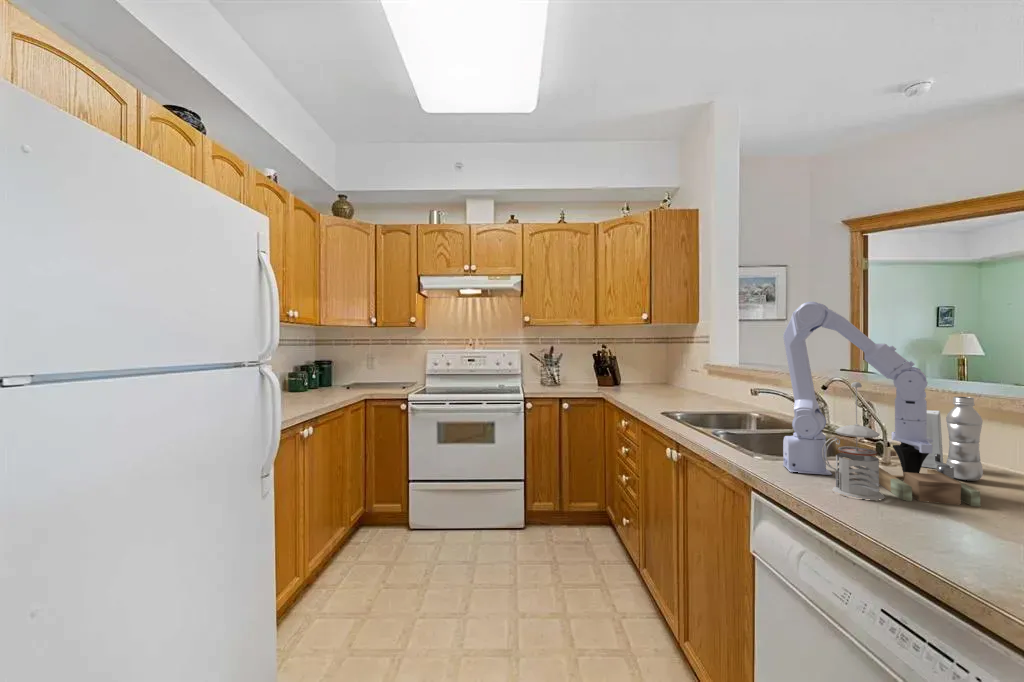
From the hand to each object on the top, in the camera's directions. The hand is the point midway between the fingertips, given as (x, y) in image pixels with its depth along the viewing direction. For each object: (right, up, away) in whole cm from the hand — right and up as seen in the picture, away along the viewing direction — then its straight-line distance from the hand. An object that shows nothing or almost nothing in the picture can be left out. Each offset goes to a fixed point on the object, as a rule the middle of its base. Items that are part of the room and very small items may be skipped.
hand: (910, 477), depth 110 cm
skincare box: (+18, -2, +17) cm, 25 cm away
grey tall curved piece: (-17, -2, -5) cm, 18 cm away
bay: (-1, -2, -4) cm, 5 cm away
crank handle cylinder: (+10, -2, +2) cm, 10 cm away
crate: (-3, -2, -8) cm, 9 cm away
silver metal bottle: (+16, -2, +4) cm, 17 cm away
